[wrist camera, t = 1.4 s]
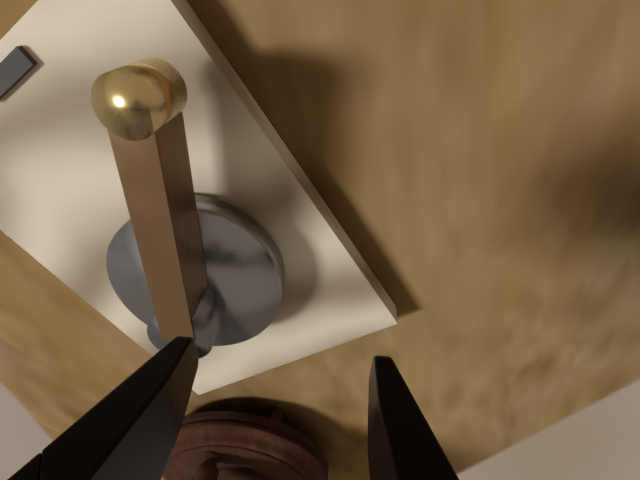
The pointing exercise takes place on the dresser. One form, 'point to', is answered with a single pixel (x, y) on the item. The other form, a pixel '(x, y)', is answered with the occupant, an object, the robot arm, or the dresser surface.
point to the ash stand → (206, 168)
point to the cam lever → (179, 223)
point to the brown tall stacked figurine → (243, 449)
